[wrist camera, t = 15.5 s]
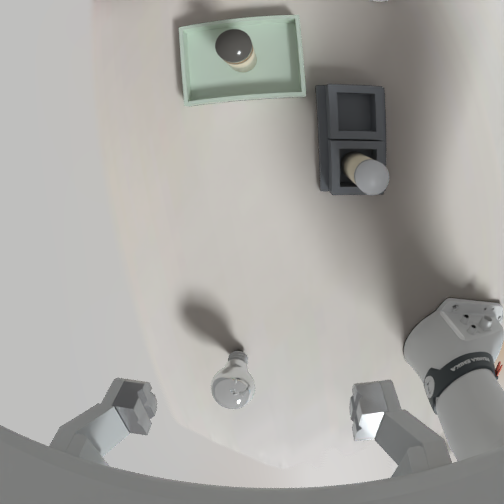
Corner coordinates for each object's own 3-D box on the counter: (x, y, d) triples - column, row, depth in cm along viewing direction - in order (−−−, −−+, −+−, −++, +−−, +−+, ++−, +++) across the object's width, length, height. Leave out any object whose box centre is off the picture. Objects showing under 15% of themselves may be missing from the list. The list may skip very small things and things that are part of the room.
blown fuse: (256, 45, 34) (250, 27, 26) (258, 71, 36) (253, 59, 28) (227, 48, 35) (213, 31, 27) (229, 74, 36) (216, 63, 28)
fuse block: (381, 88, 36) (390, 86, 32) (383, 189, 41) (391, 195, 38) (315, 86, 36) (318, 83, 33) (320, 189, 42) (323, 195, 39)
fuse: (367, 151, 38) (389, 160, 30) (367, 178, 40) (388, 195, 32) (340, 150, 39) (356, 160, 30) (340, 178, 40) (355, 195, 32)
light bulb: (211, 348, 55) (197, 398, 44) (242, 331, 53) (233, 383, 42) (236, 371, 57) (227, 422, 46) (266, 357, 54) (262, 409, 44)
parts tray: (297, 20, 33) (298, 14, 31) (304, 97, 37) (306, 95, 35) (184, 31, 34) (178, 27, 32) (189, 106, 39) (184, 105, 36)
